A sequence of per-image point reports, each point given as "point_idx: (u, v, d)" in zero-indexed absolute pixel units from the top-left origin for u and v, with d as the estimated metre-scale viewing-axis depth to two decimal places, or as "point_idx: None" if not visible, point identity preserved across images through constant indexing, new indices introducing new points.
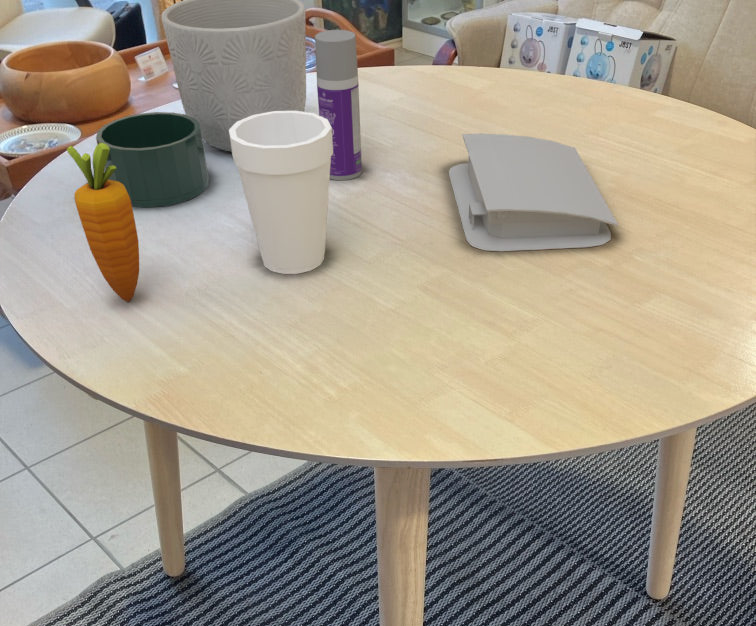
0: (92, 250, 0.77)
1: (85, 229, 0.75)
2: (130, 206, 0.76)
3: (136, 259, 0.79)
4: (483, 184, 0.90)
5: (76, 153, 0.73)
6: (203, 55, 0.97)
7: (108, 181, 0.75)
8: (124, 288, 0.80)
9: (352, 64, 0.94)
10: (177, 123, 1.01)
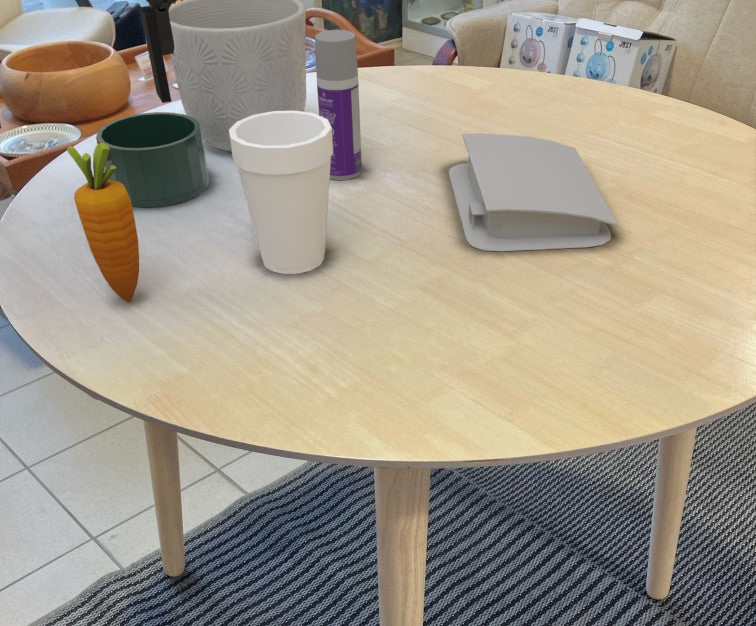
0: (92, 250, 0.77)
1: (85, 229, 0.75)
2: (130, 206, 0.76)
3: (136, 259, 0.79)
4: (483, 184, 0.90)
5: (76, 153, 0.73)
6: (203, 55, 0.97)
7: (108, 181, 0.75)
8: (124, 288, 0.80)
9: (352, 64, 0.94)
10: (177, 123, 1.01)
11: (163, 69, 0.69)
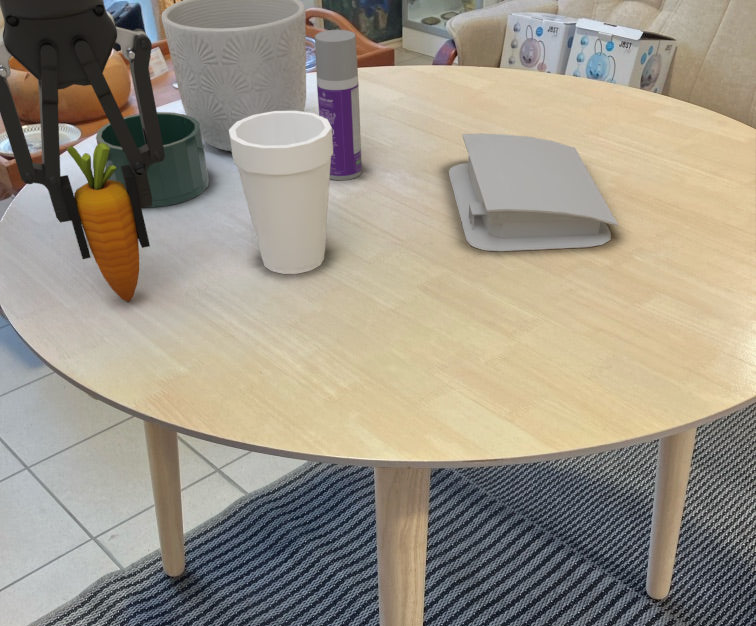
0: (92, 250, 0.77)
1: (85, 229, 0.75)
2: (130, 206, 0.76)
3: (136, 259, 0.79)
4: (483, 184, 0.90)
5: (76, 153, 0.73)
6: (203, 55, 0.97)
7: (108, 181, 0.75)
8: (124, 288, 0.80)
9: (352, 64, 0.94)
10: (177, 123, 1.01)
11: (142, 220, 0.76)
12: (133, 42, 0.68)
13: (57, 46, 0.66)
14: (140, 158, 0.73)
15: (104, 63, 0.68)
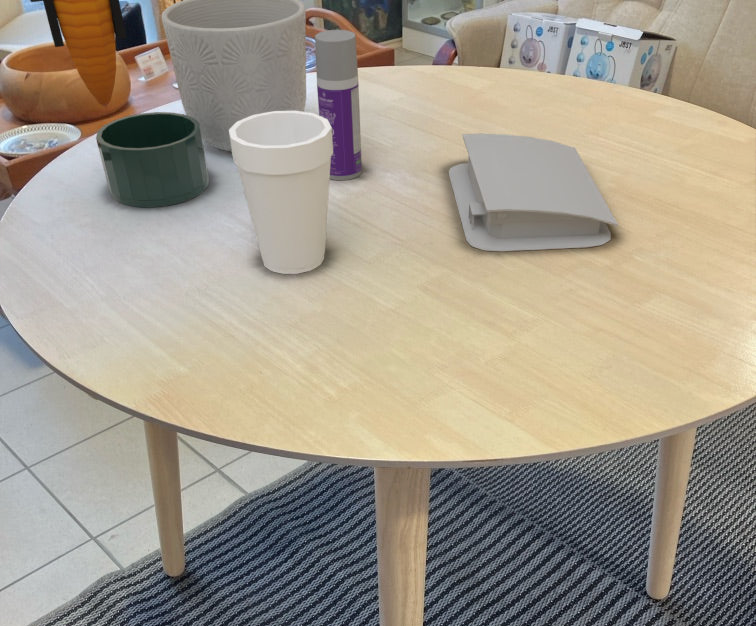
0: (65, 38, 0.73)
1: (58, 12, 0.72)
2: None
3: (112, 53, 0.75)
4: (483, 184, 0.90)
5: None
6: (203, 55, 0.97)
7: None
8: (100, 87, 0.76)
9: (352, 64, 0.94)
10: (177, 123, 1.01)
11: (118, 6, 0.73)
12: None
13: None
14: None
15: None
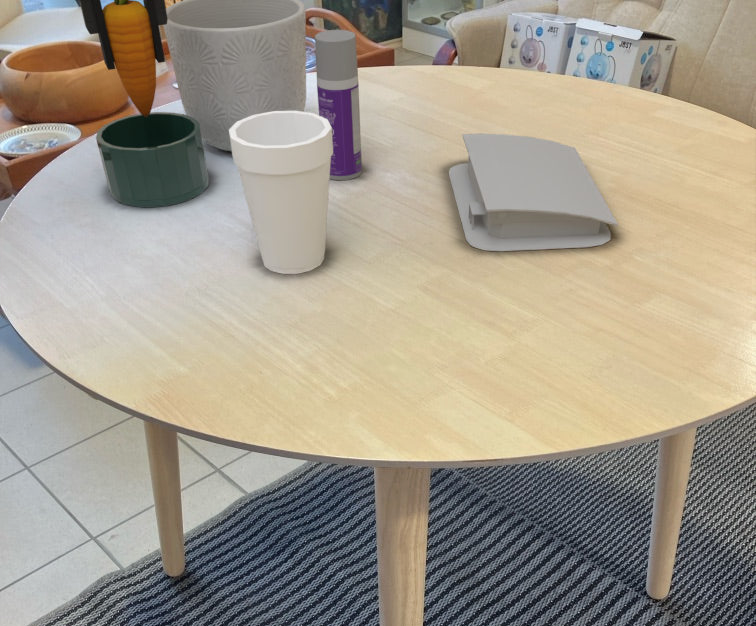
0: (116, 62, 0.91)
1: (111, 41, 0.89)
2: (149, 22, 0.89)
3: (153, 74, 0.93)
4: (483, 184, 0.90)
5: None
6: (203, 55, 0.97)
7: (130, 0, 0.89)
8: (143, 101, 0.94)
9: (352, 64, 0.94)
10: (177, 123, 1.01)
11: (159, 36, 0.90)
12: None
13: None
14: None
15: None
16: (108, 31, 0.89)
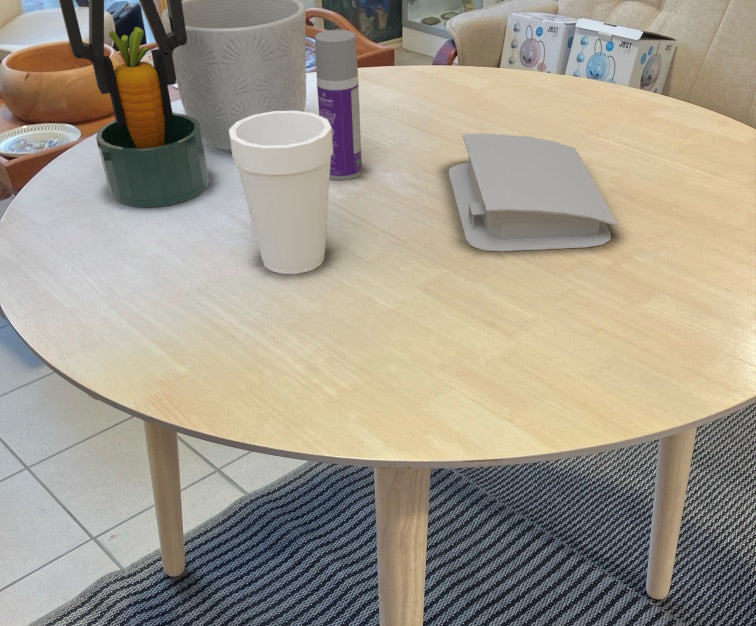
0: (127, 120, 0.95)
1: (122, 101, 0.93)
2: (158, 83, 0.93)
3: (162, 130, 0.97)
4: (483, 184, 0.90)
5: (116, 36, 0.91)
6: (203, 55, 0.97)
7: (141, 62, 0.93)
8: None
9: (352, 64, 0.94)
10: (177, 123, 1.01)
11: (168, 95, 0.94)
12: None
13: None
14: (167, 41, 0.91)
15: None
16: (119, 91, 0.93)
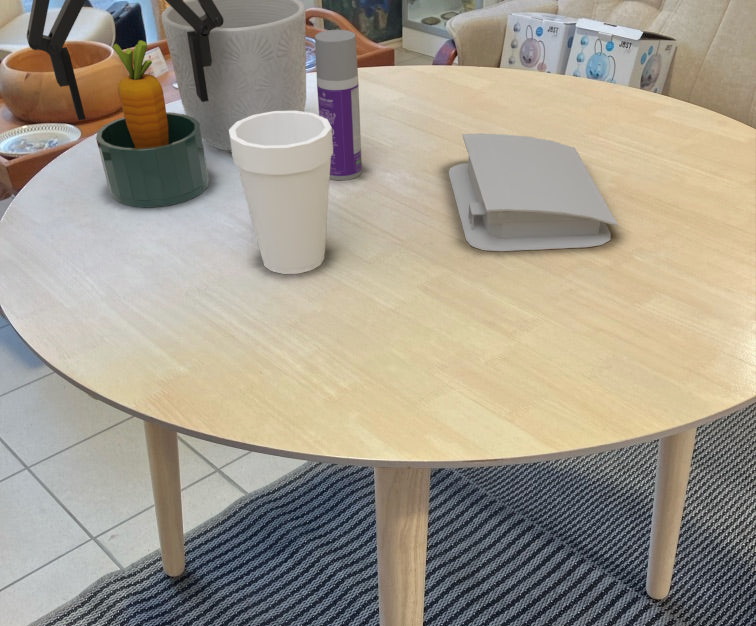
0: (131, 132, 0.96)
1: (126, 113, 0.94)
2: (162, 95, 0.94)
3: (166, 141, 0.98)
4: (483, 184, 0.90)
5: (120, 49, 0.92)
6: None
7: (145, 74, 0.94)
8: None
9: (352, 64, 0.94)
10: (177, 123, 1.01)
11: (203, 77, 0.94)
12: None
13: None
14: (201, 22, 0.91)
15: None
16: (124, 104, 0.93)
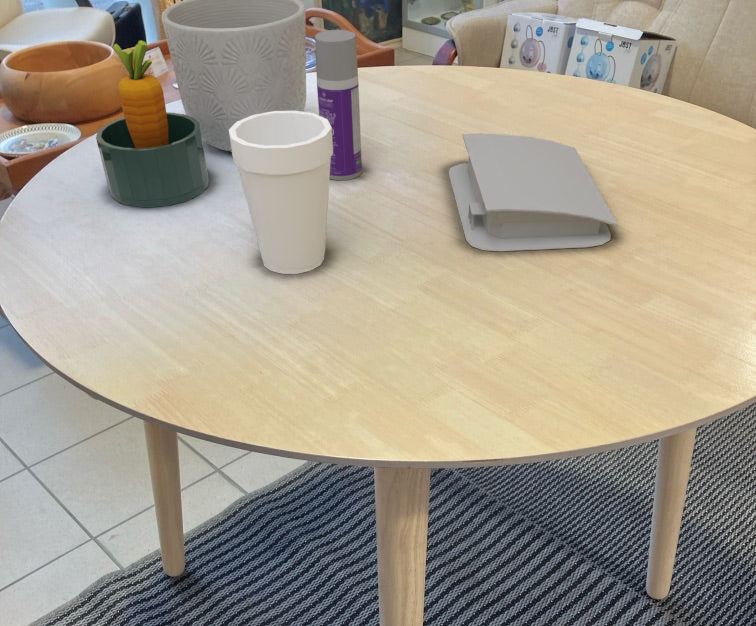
0: (131, 132, 0.96)
1: (126, 113, 0.94)
2: (162, 95, 0.94)
3: (166, 141, 0.98)
4: (483, 184, 0.90)
5: (120, 49, 0.92)
6: (203, 55, 0.97)
7: (145, 74, 0.94)
8: None
9: (352, 64, 0.94)
10: (177, 123, 1.01)
11: None
12: None
13: None
14: None
15: None
16: (124, 104, 0.93)
